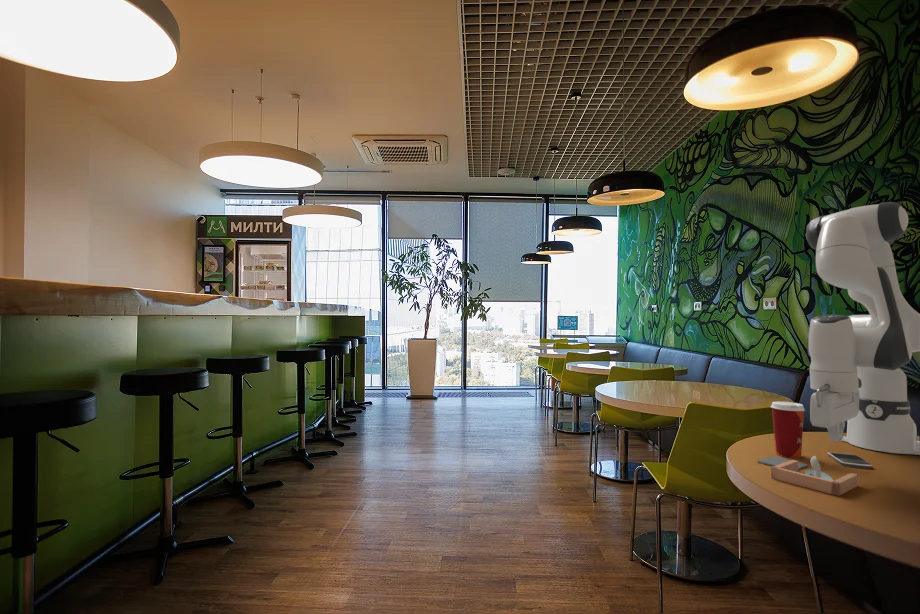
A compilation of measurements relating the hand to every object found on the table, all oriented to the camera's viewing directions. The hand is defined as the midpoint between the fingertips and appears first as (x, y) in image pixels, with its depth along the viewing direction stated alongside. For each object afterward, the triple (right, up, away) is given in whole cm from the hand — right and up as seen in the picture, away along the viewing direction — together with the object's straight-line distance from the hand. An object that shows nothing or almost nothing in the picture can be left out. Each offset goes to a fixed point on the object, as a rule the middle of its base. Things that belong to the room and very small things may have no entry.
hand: (836, 440), depth 106 cm
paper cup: (0, -9, +15) cm, 18 cm away
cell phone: (+12, -9, +10) cm, 18 cm away
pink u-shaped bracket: (-10, -8, -6) cm, 14 cm away
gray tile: (-8, -8, +7) cm, 13 cm away
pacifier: (-9, -8, -7) cm, 14 cm away
